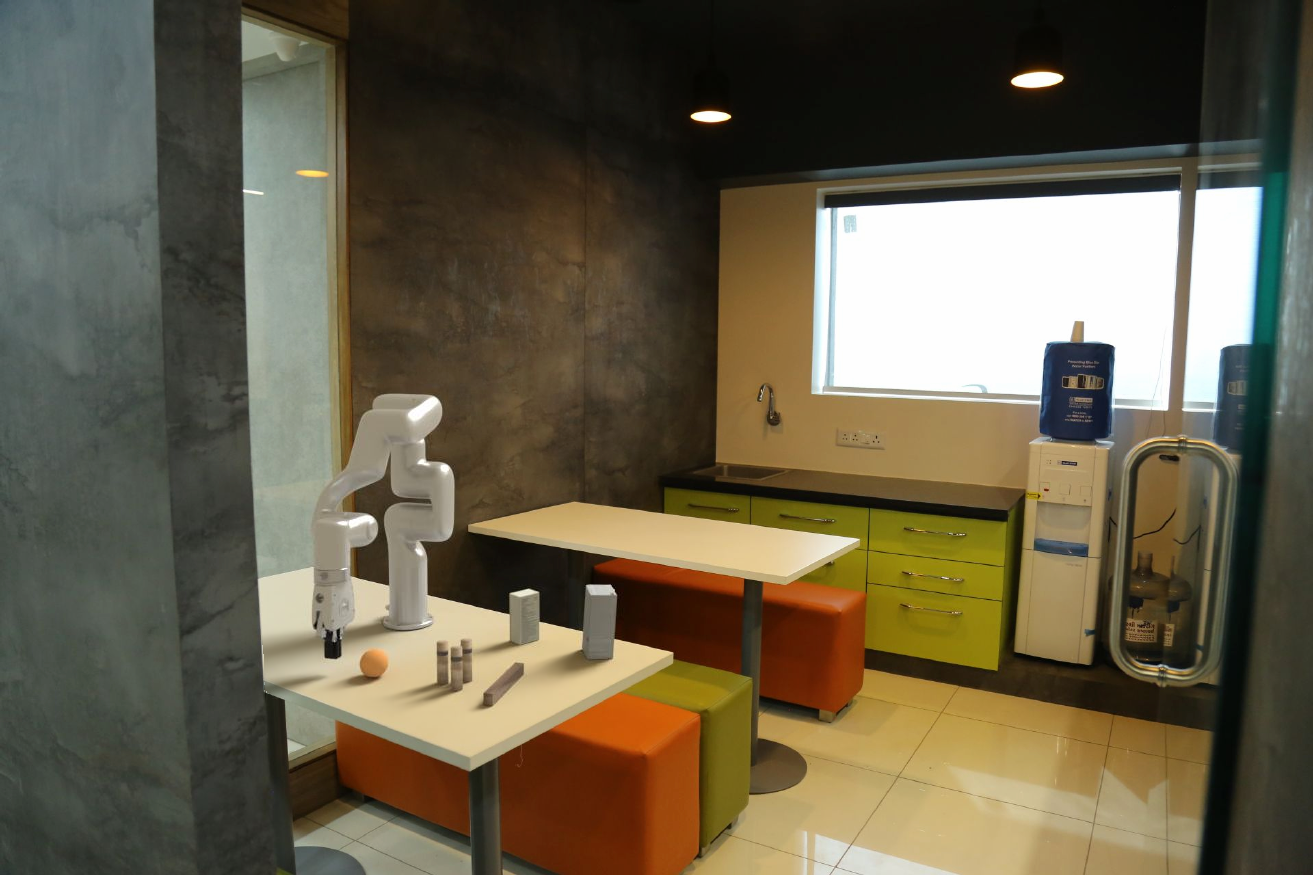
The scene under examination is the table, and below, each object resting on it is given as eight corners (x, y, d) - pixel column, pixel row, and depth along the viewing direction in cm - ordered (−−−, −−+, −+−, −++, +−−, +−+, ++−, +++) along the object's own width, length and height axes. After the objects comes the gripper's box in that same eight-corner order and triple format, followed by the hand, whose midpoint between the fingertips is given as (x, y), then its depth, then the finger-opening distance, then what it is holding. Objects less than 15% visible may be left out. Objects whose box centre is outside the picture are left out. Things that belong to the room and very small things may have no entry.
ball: (354, 676, 191) (354, 649, 190) (379, 669, 195) (378, 643, 195) (369, 683, 187) (368, 656, 186) (394, 676, 191) (393, 649, 191)
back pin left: (458, 680, 189) (458, 639, 189) (467, 677, 191) (467, 637, 190) (465, 683, 188) (465, 642, 187) (474, 680, 190) (474, 639, 189)
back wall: (483, 704, 177) (483, 692, 176) (515, 673, 194) (515, 662, 194) (492, 705, 176) (492, 693, 176) (523, 673, 194) (523, 662, 194)
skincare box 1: (529, 635, 220) (529, 588, 219) (540, 639, 217) (540, 591, 216) (508, 641, 216) (508, 592, 214) (519, 645, 212) (519, 596, 211)
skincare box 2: (581, 648, 211) (581, 584, 209) (610, 646, 212) (611, 582, 211) (586, 660, 203) (587, 593, 201) (617, 658, 204) (617, 592, 203)
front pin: (434, 682, 188) (434, 642, 187) (444, 679, 190) (443, 639, 189) (441, 685, 186) (440, 644, 185) (450, 682, 188) (450, 641, 187)
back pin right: (448, 689, 185) (448, 647, 184) (458, 685, 186) (457, 644, 186) (455, 692, 183) (455, 650, 182) (465, 688, 185) (464, 647, 184)
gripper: (328, 584, 183) (329, 670, 184) (365, 568, 197) (366, 648, 199) (296, 581, 184) (297, 667, 186) (335, 566, 199) (336, 646, 200)
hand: (332, 657), depth 192 cm, fingers closed
